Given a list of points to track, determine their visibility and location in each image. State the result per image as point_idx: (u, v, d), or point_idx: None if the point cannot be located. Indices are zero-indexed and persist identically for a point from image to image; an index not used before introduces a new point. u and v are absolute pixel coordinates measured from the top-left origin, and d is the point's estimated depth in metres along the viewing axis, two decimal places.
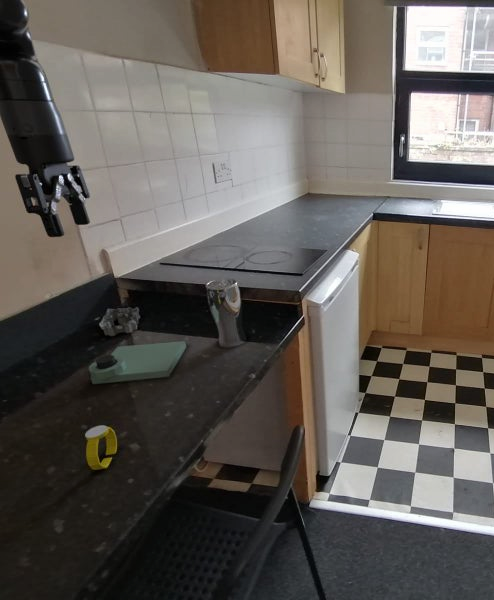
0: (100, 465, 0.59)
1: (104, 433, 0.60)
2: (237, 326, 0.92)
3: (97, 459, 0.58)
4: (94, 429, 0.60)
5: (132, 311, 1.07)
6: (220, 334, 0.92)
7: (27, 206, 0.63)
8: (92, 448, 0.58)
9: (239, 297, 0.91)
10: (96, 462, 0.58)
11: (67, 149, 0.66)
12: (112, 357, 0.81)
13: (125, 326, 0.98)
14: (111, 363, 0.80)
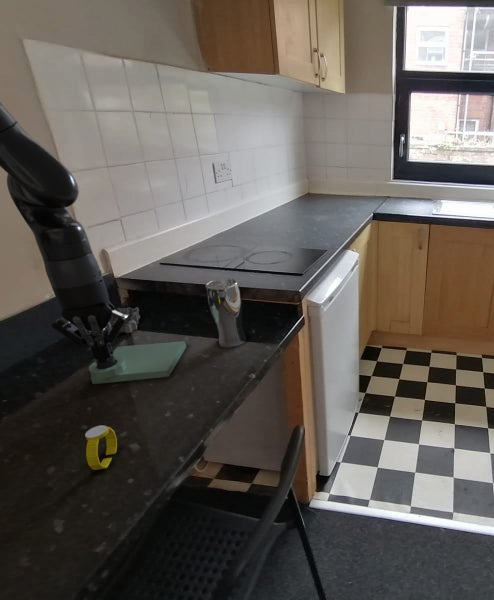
0: (100, 465, 0.59)
1: (104, 433, 0.60)
2: (237, 326, 0.92)
3: (97, 459, 0.58)
4: (94, 429, 0.60)
5: (132, 311, 1.07)
6: (220, 334, 0.92)
7: None
8: (92, 448, 0.58)
9: (239, 297, 0.91)
10: (96, 462, 0.58)
11: None
12: (112, 357, 0.81)
13: (125, 326, 0.98)
14: (111, 363, 0.80)
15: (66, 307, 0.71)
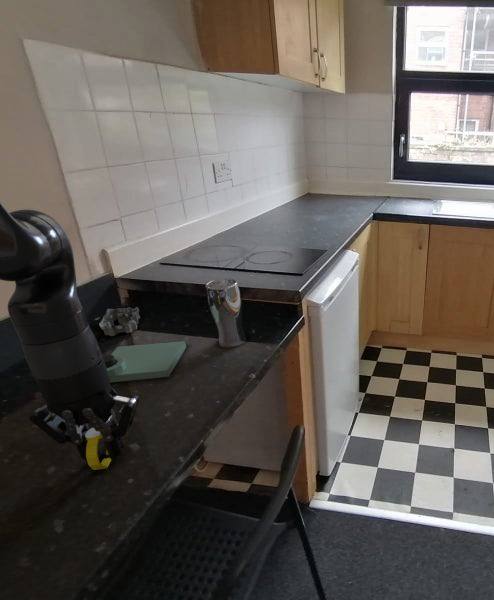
0: (100, 465, 0.59)
1: None
2: (237, 326, 0.92)
3: (97, 459, 0.58)
4: (94, 429, 0.60)
5: (132, 311, 1.07)
6: (220, 334, 0.92)
7: (126, 430, 0.59)
8: (92, 448, 0.58)
9: (239, 297, 0.91)
10: (96, 462, 0.58)
11: None
12: (112, 357, 0.81)
13: (125, 326, 0.98)
14: (111, 363, 0.80)
15: (53, 402, 0.53)
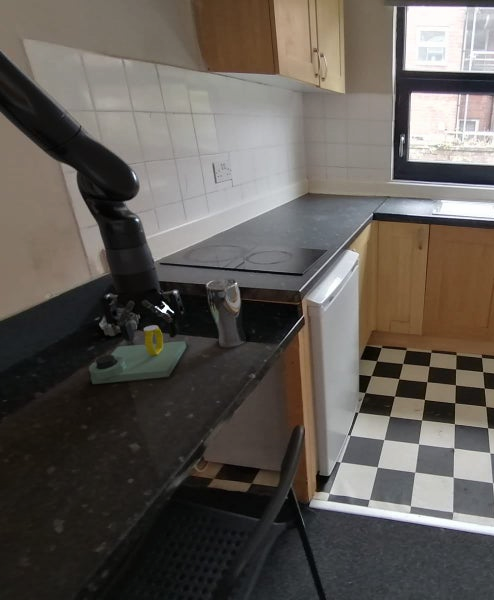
0: (154, 350, 0.85)
1: (156, 329, 0.85)
2: (237, 326, 0.92)
3: (152, 345, 0.84)
4: (149, 327, 0.86)
5: None
6: (220, 334, 0.92)
7: (181, 313, 0.85)
8: (149, 337, 0.84)
9: (239, 297, 0.91)
10: (151, 347, 0.84)
11: None
12: (112, 357, 0.81)
13: None
14: (111, 363, 0.80)
15: (124, 292, 0.78)
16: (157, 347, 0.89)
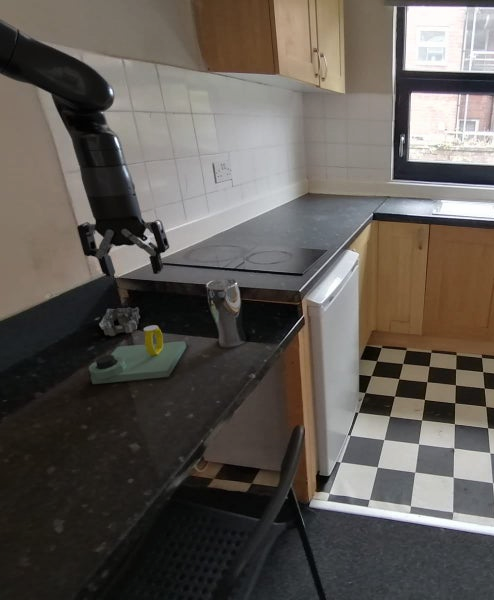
0: (154, 350, 0.85)
1: (156, 329, 0.85)
2: (237, 326, 0.92)
3: (152, 345, 0.84)
4: (149, 327, 0.86)
5: (132, 311, 1.07)
6: (220, 334, 0.92)
7: (164, 246, 0.78)
8: (149, 337, 0.84)
9: (239, 297, 0.91)
10: (151, 347, 0.84)
11: None
12: (112, 357, 0.81)
13: (125, 326, 0.98)
14: (111, 363, 0.80)
15: (101, 217, 0.72)
16: (157, 347, 0.89)
